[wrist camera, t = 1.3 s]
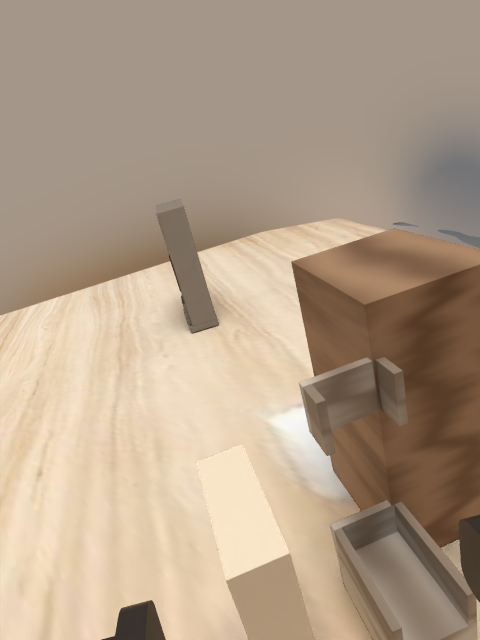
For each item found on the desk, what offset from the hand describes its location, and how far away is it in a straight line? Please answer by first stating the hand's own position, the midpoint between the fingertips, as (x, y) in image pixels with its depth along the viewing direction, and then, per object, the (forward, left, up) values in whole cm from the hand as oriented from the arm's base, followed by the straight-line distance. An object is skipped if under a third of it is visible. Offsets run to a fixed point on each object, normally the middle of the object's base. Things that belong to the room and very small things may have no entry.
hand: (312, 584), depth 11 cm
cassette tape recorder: (-5, -80, -25) cm, 84 cm away
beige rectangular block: (+1, -10, -25) cm, 27 cm away
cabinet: (-12, -17, -25) cm, 32 cm away
